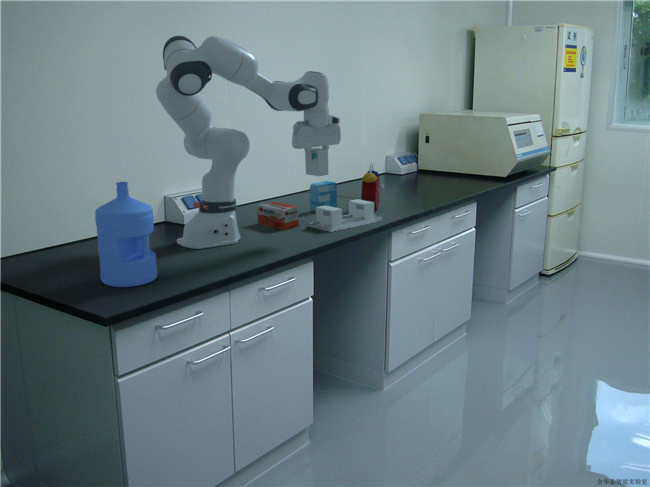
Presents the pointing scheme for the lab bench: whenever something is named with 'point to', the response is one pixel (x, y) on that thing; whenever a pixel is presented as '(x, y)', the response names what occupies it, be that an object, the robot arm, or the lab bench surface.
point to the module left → (329, 215)
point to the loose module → (317, 162)
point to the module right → (361, 209)
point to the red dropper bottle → (371, 187)
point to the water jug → (125, 241)
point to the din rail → (345, 223)
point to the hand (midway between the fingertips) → (316, 159)
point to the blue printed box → (323, 195)
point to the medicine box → (278, 215)
